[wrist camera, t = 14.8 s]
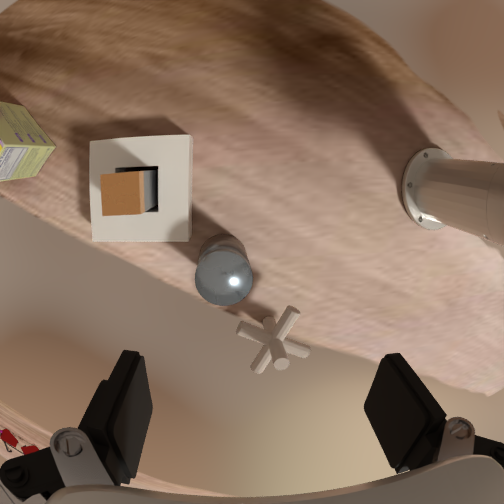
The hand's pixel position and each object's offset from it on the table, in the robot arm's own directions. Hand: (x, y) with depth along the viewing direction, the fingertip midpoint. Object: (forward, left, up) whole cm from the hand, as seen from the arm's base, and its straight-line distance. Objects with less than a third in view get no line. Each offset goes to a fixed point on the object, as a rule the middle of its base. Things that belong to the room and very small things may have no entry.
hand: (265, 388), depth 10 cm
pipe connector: (-5, +13, -29) cm, 32 cm away
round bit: (+1, +4, -28) cm, 29 cm away
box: (+30, -13, -29) cm, 44 cm away
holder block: (+11, -5, -28) cm, 31 cm away
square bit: (+11, -6, -28) cm, 31 cm away
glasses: (+60, +62, -29) cm, 91 cm away
